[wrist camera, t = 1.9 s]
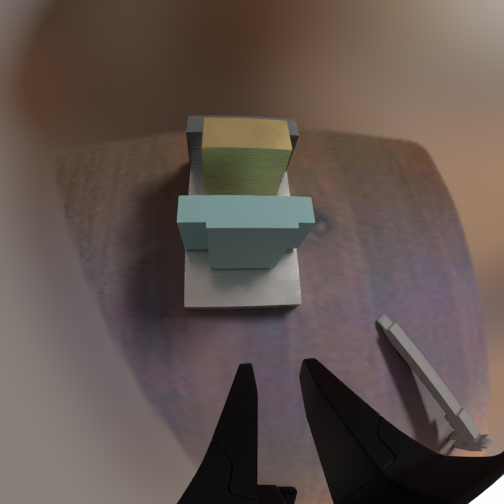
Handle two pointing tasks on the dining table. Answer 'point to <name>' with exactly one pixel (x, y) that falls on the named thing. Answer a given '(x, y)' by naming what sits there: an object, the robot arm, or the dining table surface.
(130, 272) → the dining table surface
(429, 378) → the grey long thin bar
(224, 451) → the robot arm
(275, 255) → the block
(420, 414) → the dining table surface
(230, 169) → the brass block
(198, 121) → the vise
